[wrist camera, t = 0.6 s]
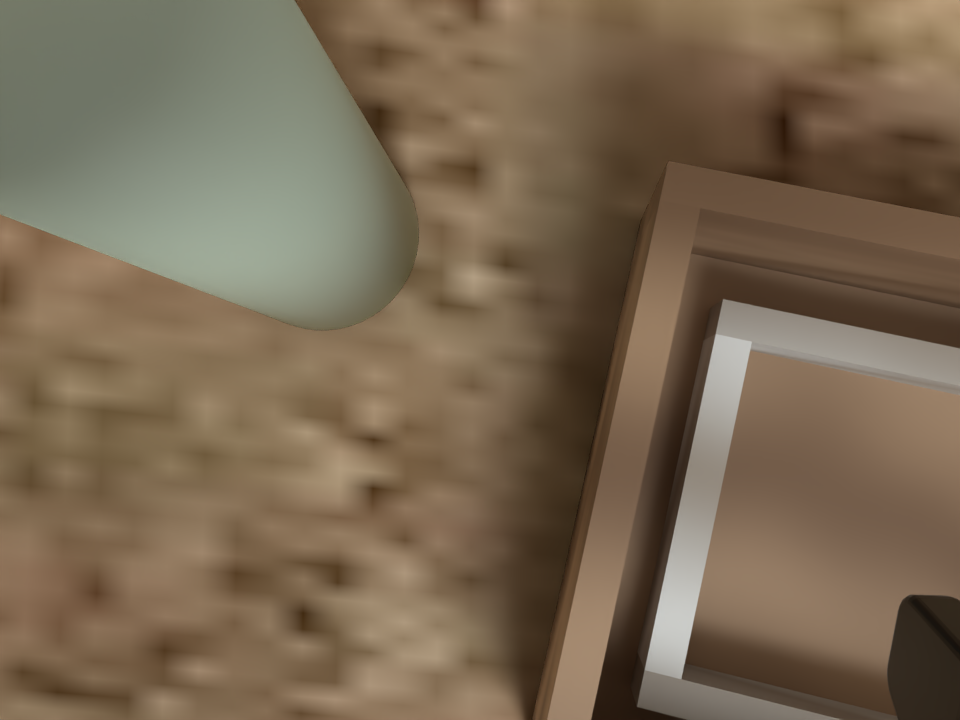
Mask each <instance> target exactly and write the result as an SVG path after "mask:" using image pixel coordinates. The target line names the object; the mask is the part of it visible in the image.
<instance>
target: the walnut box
mask: <svg viewBox="0 0 960 720" xmlns="http://www.w3.org/2000/svg"><path fill="white" fill-rule="evenodd" d="M912 594H913V595H945V596H951V597H954V598H956V599H958V600H960V217H955V216H950V215H944V214H939V213H934V212H929V211H924V210H919V209H914V208H908V207H903V206H898V205H893V204H888V203H883V202H878V201H873V200H867V199H862V198H857V197H852V196H847V195H842V194H837V193H831V192H826V191H821V190H816V189H811V188H806V187H801V186H796V185H790V184H785V183H780V182H775V181H770V180H765V179H760V178H754V177H749V176H744V175H739V174H734V173H729V172H724V171H719V170H713V169H708V168H703V167H698V166H693V165H688V164H683V163H677V162H672V161H668V163H667V165H666V167H665V169H664V172H663V174H662V176H661V178H660V180H659V182H658V185H657V187H656V189H655V191H654V193H653V195H652V198H651V200H650V202H649V204H648V206H647V208H646V210H645V213H644V215H643V217H642V219H641V222H640V227H639V231H638V236H637V240H636V245H635V249H634V254H633V259H632V263H631V268H630V272H629V277H628V282H627V286H626V291H625V295H624V300H623V304H622V309H621V314H620V318H619V323H618V327H617V332H616V337H615V341H614V346H613V350H612V355H611V360H610V364H609V369H608V373H607V378H606V382H605V387H604V392H603V396H602V401H601V405H600V410H599V415H598V419H597V424H596V428H595V433H594V438H593V442H592V447H591V451H590V456H589V460H588V465H587V470H586V474H585V479H584V483H583V488H582V493H581V497H580V502H579V506H578V511H577V515H576V520H575V525H574V529H573V534H572V538H571V543H570V548H569V552H568V557H567V561H566V566H565V571H564V575H563V580H562V584H561V589H560V593H559V598H558V603H557V607H556V612H555V616H554V621H553V626H552V630H551V635H550V639H549V644H548V649H547V653H546V658H545V662H544V667H543V671H542V676H541V681H540V685H539V690H538V694H537V699H536V704H535V708H534V713H533V717H532V720H898V718H897V715H896V712H895V709H894V705H893V702H892V699H891V696H890V692H889V687H888V680H887V666H888V660H889V655H890V649H891V644H892V639H893V634H894V629H895V624H896V618H897V613H898V609H899V606H900V603H901V602H902V600H903V599H904V598H905V597H907V596H908V595H912Z"/></svg>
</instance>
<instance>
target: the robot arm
mask: <svg viewBox="0 0 960 720" xmlns="http://www.w3.org/2000/svg"><path fill="white" fill-rule="evenodd" d="M887 680H888V687H889V692H890V696H891V699H892V702H893V705H894V709H895V712H896V715H897V718H898V720H960V600H958V599H956V598H954V597H951V596H945V595H913V594H912V595H908V596H907V597H905V598H904V599H903V600H902V602H901V603H900V606H899V609H898V613H897V618H896V624H895V629H894V634H893V639H892V644H891V649H890V655H889V660H888V666H887Z"/></svg>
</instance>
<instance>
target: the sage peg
mask: <svg viewBox="0 0 960 720" xmlns="http://www.w3.org/2000/svg"><path fill="white" fill-rule="evenodd" d="M0 214H1V215H3V216H6V217H8V218H11V219H14V220H16V221H19V222H22V223H24V224H27V225H30V226H32V227H35V228H37V229H40V230H43V231H45V232H48V233H51V234H53V235H56V236H58V237H61V238H64V239H66V240H69V241H72V242H74V243H77V244H79V245H82V246H85V247H87V248H90V249H93V250H95V251H98V252H100V253H103V254H106V255H108V256H111V257H114V258H116V259H119V260H122V261H124V262H127V263H129V264H132V265H135V266H137V267H140V268H143V269H145V270H148V271H150V272H153V273H156V274H158V275H161V276H164V277H166V278H169V279H171V280H174V281H177V282H179V283H182V284H185V285H187V286H190V287H192V288H195V289H198V290H200V291H203V292H206V293H208V294H211V295H214V296H216V297H219V298H221V299H224V300H227V301H229V302H232V303H235V304H237V305H240V306H242V307H245V308H248V309H250V310H253V311H256V312H258V313H261V314H263V315H266V316H269V317H271V318H274V319H277V320H279V321H282V322H285V323H287V324H290V325H293V326H296V327H300V328H304V329H310V330H334V329H341V328H345V327H349V326H352V325H355V324H357V323H360V322H362V321H364V320H366V319H368V318H370V317H372V316H373V315H375V314H376V313H378V312H379V311H380V310H382V309H383V308H384V307H385V306H386V305H387V304H388V303H390V302H391V301H392V300H393V299H394V297H395V296H396V295H397V294H398V292H399V291H400V290H401V289H402V287H403V285H404V284H405V282H406V280H407V279H408V277H409V274H410V272H411V270H412V268H413V265H414V261H415V258H416V255H417V248H418V241H419V227H418V218H417V213H416V209H415V205H414V203H413V200H412V198H411V195H410V193H409V191H408V189H407V188H406V186H405V184H404V182H403V181H402V179H401V177H400V176H399V174H398V172H397V171H396V169H395V167H394V166H393V164H392V162H391V161H390V159H389V157H388V156H387V154H386V152H385V151H384V149H383V147H382V145H381V144H380V142H379V140H378V139H377V137H376V135H375V134H374V132H373V130H372V129H371V127H370V125H369V124H368V122H367V120H366V119H365V117H364V115H363V114H362V112H361V110H360V109H359V107H358V105H357V104H356V102H355V100H354V99H353V97H352V95H351V94H350V92H349V90H348V89H347V87H346V85H345V84H344V82H343V80H342V79H341V77H340V75H339V74H338V72H337V70H336V69H335V67H334V65H333V64H332V62H331V60H330V59H329V57H328V55H327V54H326V52H325V50H324V49H323V47H322V45H321V44H320V42H319V40H318V39H317V37H316V35H315V34H314V32H313V30H312V28H311V27H310V25H309V23H308V22H307V20H306V18H305V17H304V15H303V13H302V12H301V10H300V8H299V7H298V5H297V3H296V2H295V0H0Z"/></svg>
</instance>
